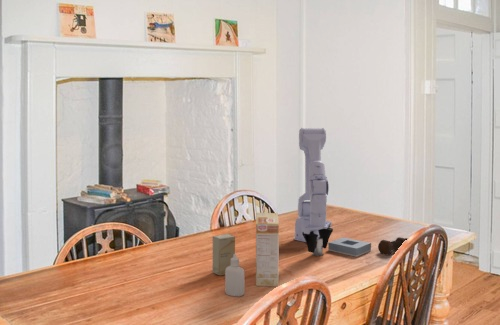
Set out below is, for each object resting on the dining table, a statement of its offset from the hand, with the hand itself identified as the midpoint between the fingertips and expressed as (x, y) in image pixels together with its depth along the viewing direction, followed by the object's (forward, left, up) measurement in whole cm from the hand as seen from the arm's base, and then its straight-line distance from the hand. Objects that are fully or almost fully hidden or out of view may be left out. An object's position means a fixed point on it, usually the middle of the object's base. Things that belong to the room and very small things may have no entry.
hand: (317, 249), depth 206 cm
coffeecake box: (+3, -32, -2) cm, 32 cm away
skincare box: (-11, -37, -2) cm, 39 cm away
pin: (0, 0, -2) cm, 2 cm away
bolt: (+19, +24, -2) cm, 30 cm away
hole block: (+6, +12, -2) cm, 14 cm away
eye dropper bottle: (+5, -49, -2) cm, 49 cm away
